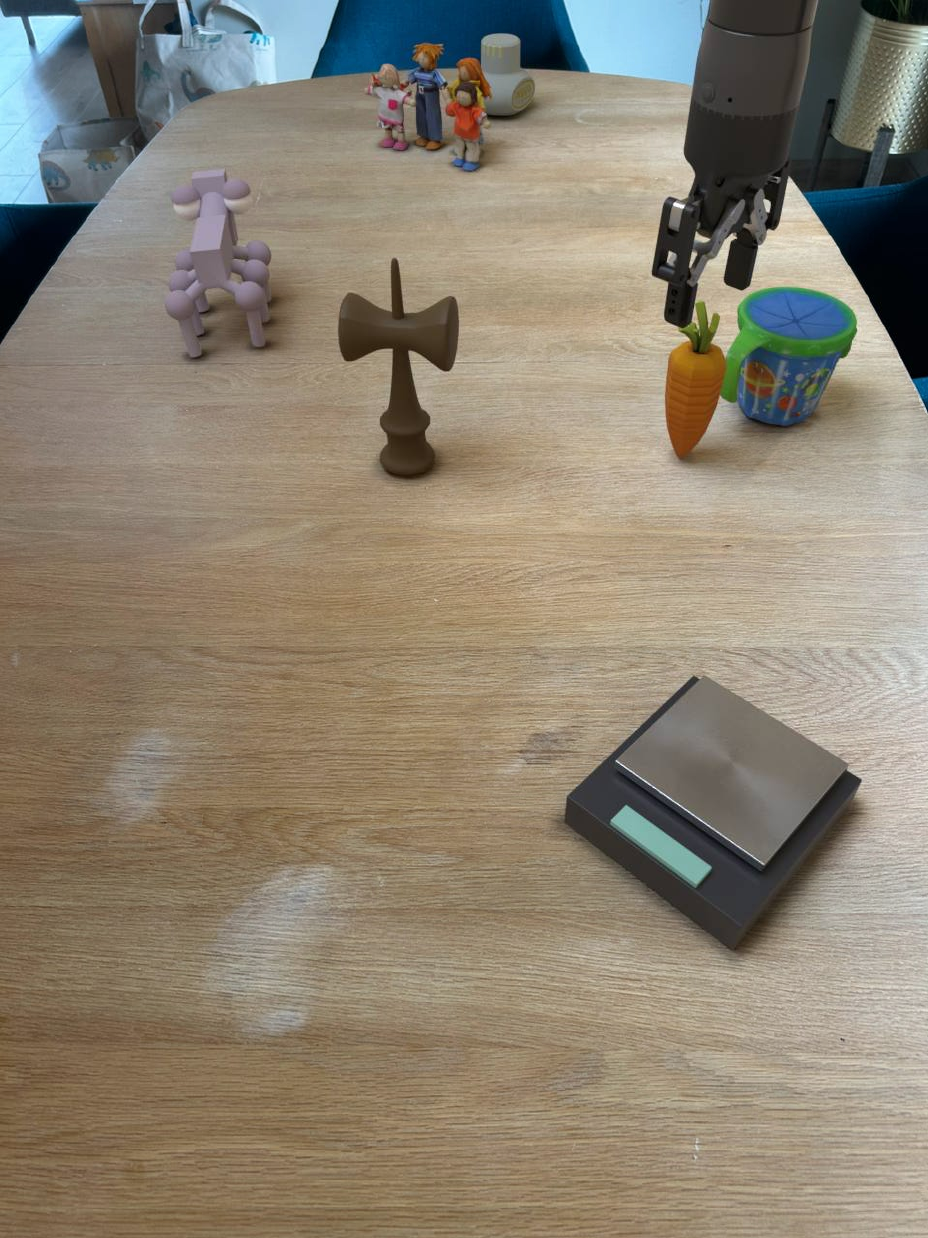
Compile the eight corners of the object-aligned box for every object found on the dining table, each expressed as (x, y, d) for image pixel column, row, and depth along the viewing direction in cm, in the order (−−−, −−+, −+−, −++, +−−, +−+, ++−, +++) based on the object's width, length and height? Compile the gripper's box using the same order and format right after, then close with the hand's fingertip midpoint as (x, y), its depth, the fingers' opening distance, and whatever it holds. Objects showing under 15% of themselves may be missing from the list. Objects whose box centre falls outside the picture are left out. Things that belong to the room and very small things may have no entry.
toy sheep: (192, 273, 120) (166, 156, 110) (282, 268, 120) (264, 151, 111) (174, 361, 106) (142, 236, 96) (275, 355, 106) (254, 231, 97)
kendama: (453, 487, 90) (448, 279, 76) (349, 478, 91) (325, 271, 77) (463, 448, 94) (460, 243, 80) (364, 440, 96) (343, 237, 81)
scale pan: (702, 682, 69) (704, 674, 69) (846, 771, 64) (849, 763, 63) (613, 768, 64) (614, 760, 64) (761, 872, 59) (764, 865, 58)
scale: (687, 702, 73) (694, 670, 70) (850, 805, 66) (864, 775, 64) (563, 822, 66) (566, 791, 63) (732, 951, 59) (743, 923, 57)
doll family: (364, 143, 147) (356, 44, 138) (403, 123, 153) (398, 26, 143) (483, 175, 139) (483, 71, 129) (520, 152, 144) (523, 51, 135)
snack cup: (802, 361, 104) (826, 269, 97) (873, 413, 98) (904, 318, 90) (677, 400, 100) (693, 306, 92) (743, 457, 93) (765, 360, 86)
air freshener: (504, 126, 151) (505, 53, 144) (458, 115, 155) (457, 44, 147) (540, 104, 158) (543, 33, 151) (495, 94, 161) (496, 24, 154)
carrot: (702, 478, 91) (731, 328, 80) (648, 466, 92) (670, 318, 81) (712, 447, 94) (742, 299, 83) (660, 437, 95) (682, 290, 85)
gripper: (735, 133, 65) (695, 354, 77) (845, 79, 72) (793, 289, 84) (642, 105, 69) (617, 320, 80) (755, 56, 76) (717, 260, 87)
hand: (707, 304), depth 82 cm, fingers open, 8 cm apart
